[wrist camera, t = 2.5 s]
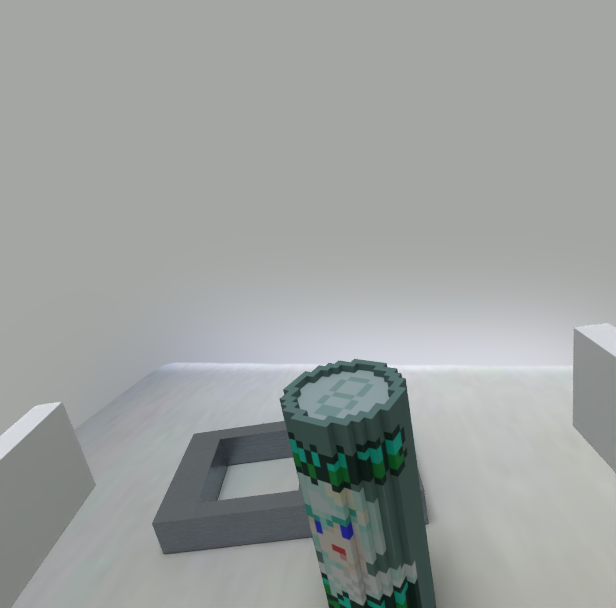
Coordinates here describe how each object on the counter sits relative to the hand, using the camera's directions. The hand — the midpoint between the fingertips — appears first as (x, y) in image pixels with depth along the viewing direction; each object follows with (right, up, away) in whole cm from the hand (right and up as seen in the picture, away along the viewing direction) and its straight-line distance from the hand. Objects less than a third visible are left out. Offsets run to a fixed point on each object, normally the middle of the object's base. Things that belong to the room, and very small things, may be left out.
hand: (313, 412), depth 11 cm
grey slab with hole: (-1, -13, +26) cm, 29 cm away
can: (+4, -16, +16) cm, 22 cm away
